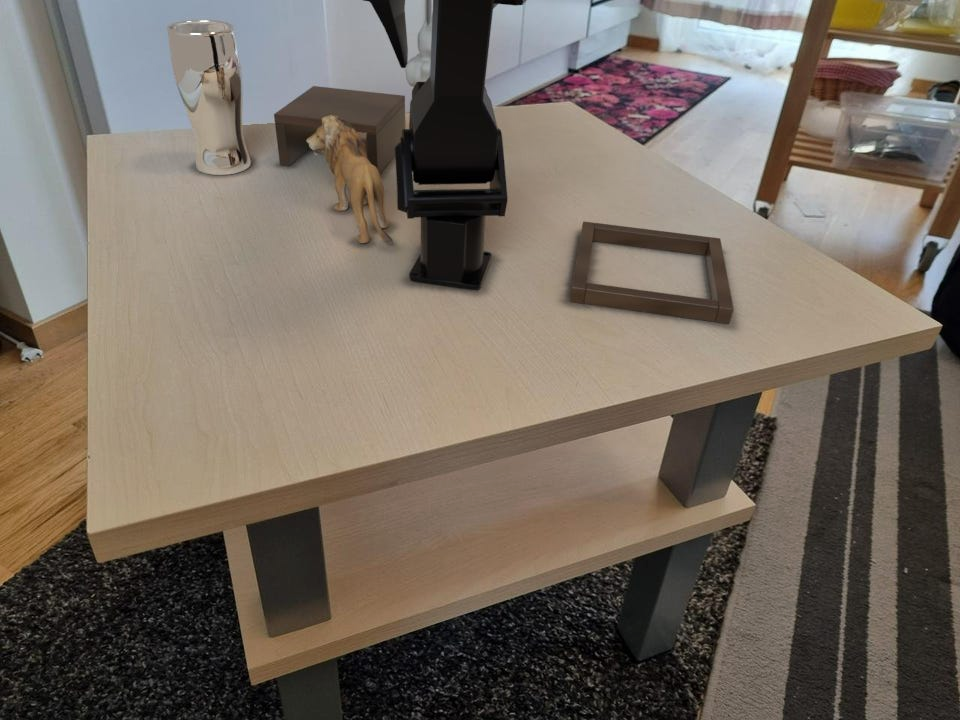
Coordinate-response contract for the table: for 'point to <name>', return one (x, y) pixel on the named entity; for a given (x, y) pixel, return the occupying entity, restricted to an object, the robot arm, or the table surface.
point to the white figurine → (421, 57)
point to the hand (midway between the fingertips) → (431, 70)
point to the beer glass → (211, 92)
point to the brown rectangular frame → (648, 300)
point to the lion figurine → (351, 173)
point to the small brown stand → (358, 108)
